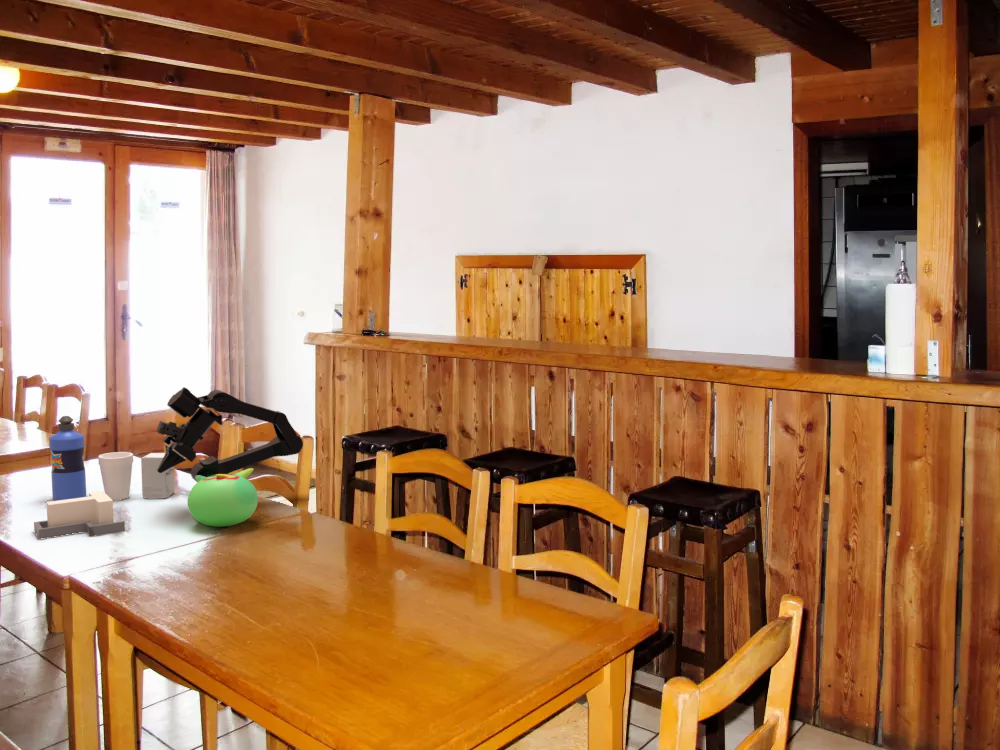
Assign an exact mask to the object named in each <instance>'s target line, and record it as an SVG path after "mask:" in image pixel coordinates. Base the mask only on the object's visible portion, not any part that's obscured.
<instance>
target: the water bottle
mask: <svg viewBox="0 0 1000 750" xmlns="http://www.w3.org/2000/svg"><path fill="white" fill-rule="evenodd" d="M73 421H74V419H73V418H72V417H70V415H64V416H61V417H60V419H58V422H59V423H58V424H57V425H58V427H57V429H58V430H59V431H57V432H56V433H54V434H53V435H51V436H49V437H48V439H49V440H48V441H49V442H48V443H49V444H48V445H49V450H50V454H51V460H52V462H51V463H52V466H51V488H52V489H51V490H52V491H51V493H52V494H51V495H52V501H58V500H66V499H74V498H81V497H87V481H86V480H87V477H86V467H85V463H84V454H85V453H84V451H85V435H84V433H83V434H82V433H79V432H76V430H74V429H75V423H73Z"/></svg>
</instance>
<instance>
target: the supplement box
mask: <svg viewBox="0 0 1000 750" xmlns="http://www.w3.org/2000/svg"><path fill="white" fill-rule="evenodd" d="M165 453H166V452H150V453H148V454H146V455H144V456H143V457H141V458H140V459H141V461H140V463H141V492H142V493H141V494H142V498H141V499H154V498H166V499H167V498H168V497H170V496H171V495H173V494H175V493H174V492H176V491H175V489H176V487H175V485H176V484H175V482H176V481H175V466H173V467H171V468H170V469H168V470H166V471H164V472H162V473H159V472H158V471H157V469H158V467H159V465H160V463H161V461H162V459H163V457H164V455H165ZM172 493H173V494H172ZM169 495H170V496H169Z"/></svg>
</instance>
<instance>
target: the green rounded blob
mask: <svg viewBox="0 0 1000 750" xmlns="http://www.w3.org/2000/svg"><path fill="white" fill-rule="evenodd" d="M254 469H255V468H254V467H253V468H252V467H250V468H246V469H244V470H242V471H238V472H236V473H234V474H233V473H228V474H216V475H211V476H209V477H204V476H201V475H196V476H195V479H196V481H197V482H196V481H195V482H196V483H195V484H194V485H193V486H192V487H191V490H190V491H189V493H188V496H187V508H188V511H189V513H190V515H191V516H192V518H194V519H195V520H196V521H198V522H199V523H201V524H203V525H207V526H209V527H217V528H218V527H220V528H223V527H230V526H235V525H239V524H240V523H243V522H245V521H246V520H248V519H250V517H251V516H253V514H254V513H255V511H256V509H257V508H258V507H257V506H258V502H259V501H258V500H259V497H258V496H259V495H258V491H257V489H256V487H255V485H254V484H253V483H252V482H251V481H250V480H249V479H247V477H249V476H250V475H251V474H252V472H254Z"/></svg>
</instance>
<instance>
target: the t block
mask: <svg viewBox="0 0 1000 750" xmlns="http://www.w3.org/2000/svg"><path fill="white" fill-rule="evenodd" d="M45 502H46V520H47V522H48V527H54V526H61V525H68V524H75V523H81V522H88V521H89V522H90V523H91V524H92V525H100V524H106V523H113V522H115V521H114V500H112V499H111V498H110V497H109V496H107V495H106V494H105V491H104V490H99V491H92V492H88V496H86V497H81V498H74V499H66V500H58V501H53V500H52V501H51V500H50V501H45Z"/></svg>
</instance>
